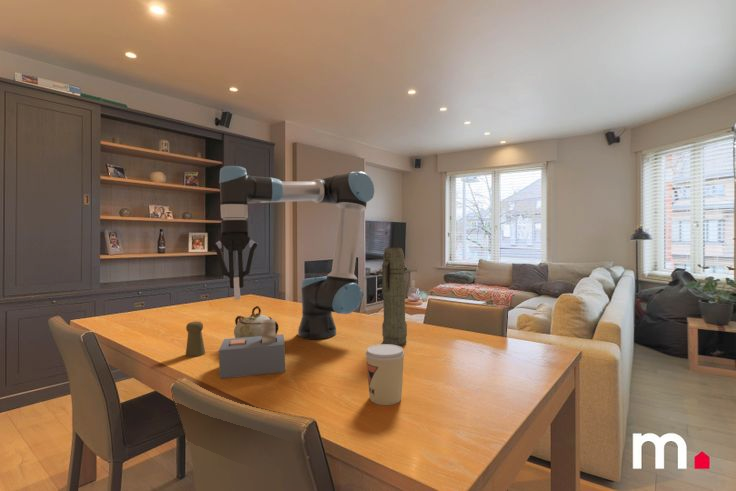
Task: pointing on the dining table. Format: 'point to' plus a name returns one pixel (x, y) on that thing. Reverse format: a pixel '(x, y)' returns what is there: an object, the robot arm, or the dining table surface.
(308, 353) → the dining table surface
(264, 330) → the cream peg
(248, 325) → the sugar bowl
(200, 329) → the green pepper mill
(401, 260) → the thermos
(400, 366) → the cream lidded canister
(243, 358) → the socket block
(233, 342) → the terracotta peg
